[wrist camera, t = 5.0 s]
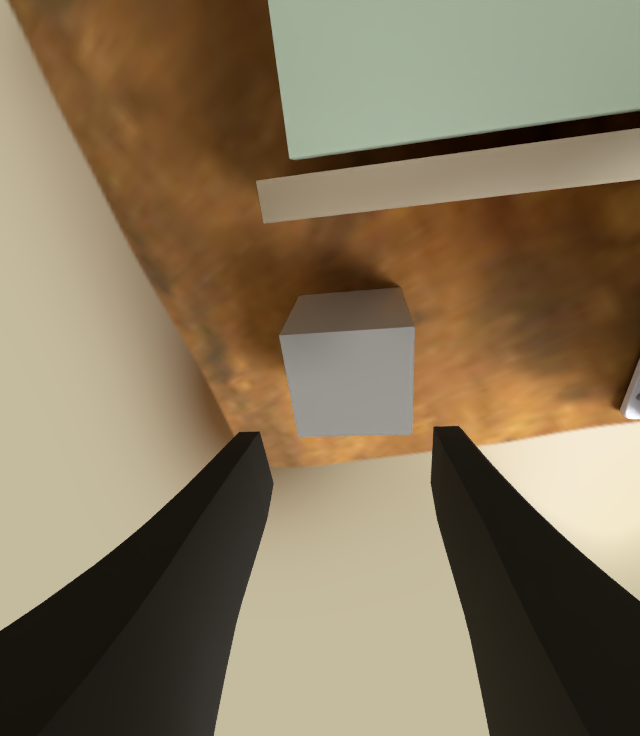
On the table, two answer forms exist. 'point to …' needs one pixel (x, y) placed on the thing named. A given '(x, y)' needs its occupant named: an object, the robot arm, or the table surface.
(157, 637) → the robot arm
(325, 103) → the trapdoor
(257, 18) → the table surface
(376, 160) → the table surface
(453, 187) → the frame
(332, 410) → the granite block
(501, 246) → the table surface
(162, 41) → the table surface
